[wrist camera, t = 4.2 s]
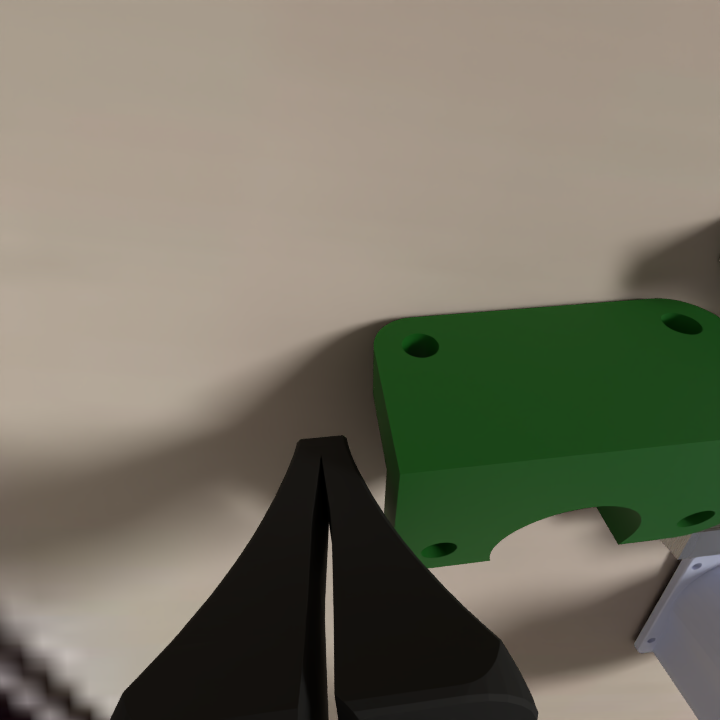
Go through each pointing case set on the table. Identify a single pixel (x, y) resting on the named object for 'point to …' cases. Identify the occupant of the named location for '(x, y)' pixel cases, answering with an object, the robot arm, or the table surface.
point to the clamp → (549, 422)
